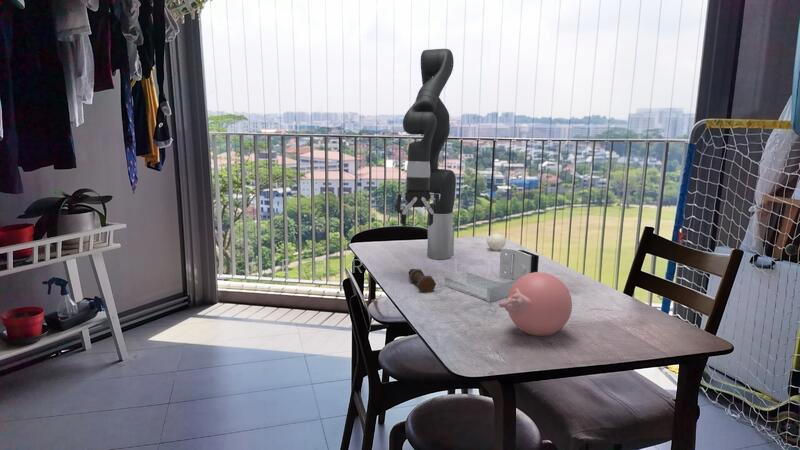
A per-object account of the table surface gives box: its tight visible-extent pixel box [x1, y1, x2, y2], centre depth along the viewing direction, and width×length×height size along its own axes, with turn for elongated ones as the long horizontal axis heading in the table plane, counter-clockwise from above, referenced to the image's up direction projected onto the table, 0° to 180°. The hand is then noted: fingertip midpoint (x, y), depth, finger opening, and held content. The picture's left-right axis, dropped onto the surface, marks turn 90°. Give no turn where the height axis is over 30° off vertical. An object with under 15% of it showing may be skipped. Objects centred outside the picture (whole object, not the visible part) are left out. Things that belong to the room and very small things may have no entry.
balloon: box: [498, 271, 573, 337], centre depth 129 cm, size 15×20×15 cm
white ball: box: [486, 232, 506, 251], centre depth 212 cm, size 7×7×7 cm
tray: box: [443, 271, 516, 303], centre depth 163 cm, size 11×19×4 cm, turn 38°
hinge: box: [498, 247, 540, 282], centre depth 172 cm, size 14×5×10 cm, turn 37°
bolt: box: [408, 268, 437, 294], centre depth 167 cm, size 6×5×15 cm
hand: (416, 225), depth 171 cm, fingers open, 8 cm apart
